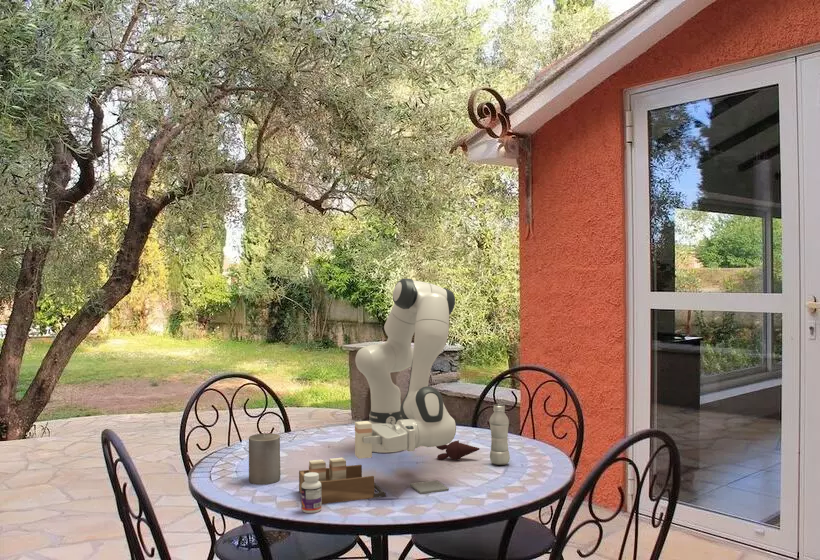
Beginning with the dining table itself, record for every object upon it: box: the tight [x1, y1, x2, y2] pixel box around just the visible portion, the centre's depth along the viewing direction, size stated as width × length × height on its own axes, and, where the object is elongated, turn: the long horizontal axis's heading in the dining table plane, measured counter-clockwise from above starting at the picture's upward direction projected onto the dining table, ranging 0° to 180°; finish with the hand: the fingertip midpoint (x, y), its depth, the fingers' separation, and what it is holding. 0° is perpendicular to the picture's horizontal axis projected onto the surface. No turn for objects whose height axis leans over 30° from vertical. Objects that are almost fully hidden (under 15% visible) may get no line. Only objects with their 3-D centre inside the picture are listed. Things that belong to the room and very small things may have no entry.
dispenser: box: [298, 457, 387, 505], centre depth 198 cm, size 14×22×10 cm, turn 110°
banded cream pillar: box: [354, 420, 373, 460], centre depth 200 cm, size 4×4×10 cm
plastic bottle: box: [488, 403, 511, 466], centre depth 229 cm, size 6×7×20 cm
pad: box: [409, 480, 450, 495], centre depth 203 cm, size 9×9×1 cm
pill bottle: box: [300, 472, 323, 514], centre depth 183 cm, size 5×5×10 cm
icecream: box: [435, 439, 480, 461], centre depth 235 cm, size 7×7×15 cm
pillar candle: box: [248, 432, 281, 486], centre depth 212 cm, size 10×10×15 cm
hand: (360, 438), depth 200 cm, fingers closed on banded cream pillar, 4 cm apart
